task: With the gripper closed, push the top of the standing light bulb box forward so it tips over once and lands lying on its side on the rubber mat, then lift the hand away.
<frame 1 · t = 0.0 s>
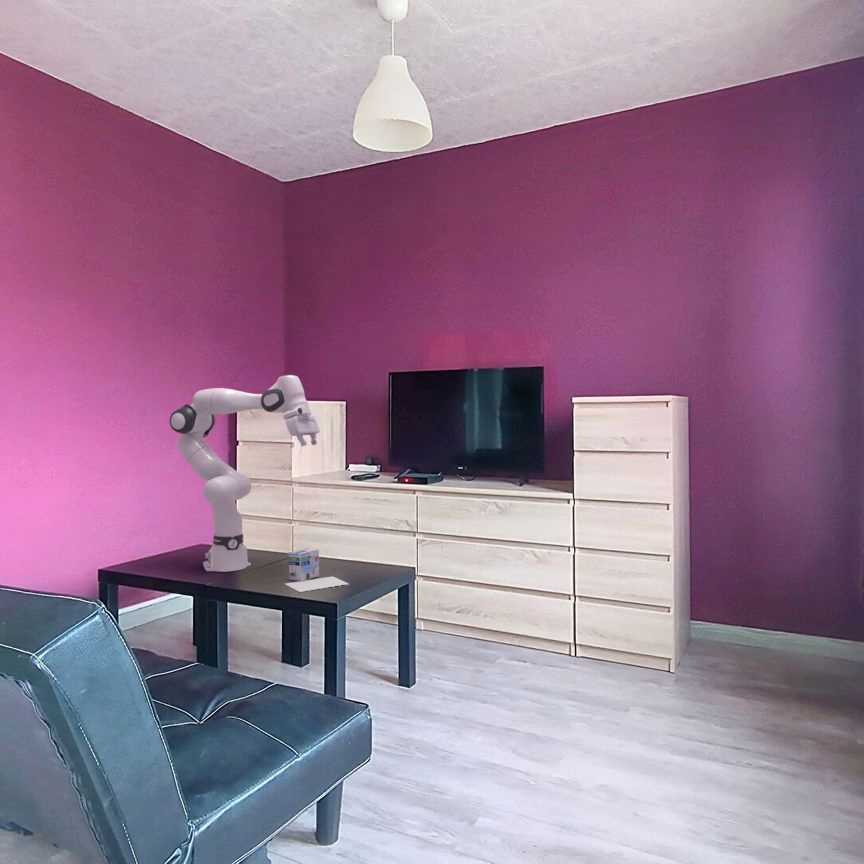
hand: (309, 445, 266), 52 cm above the table, tool tilted 20°, fingers open, 8 cm apart
light bulb box: (304, 578, 260), on the table, touching mat
mat: (316, 584, 250), on the table
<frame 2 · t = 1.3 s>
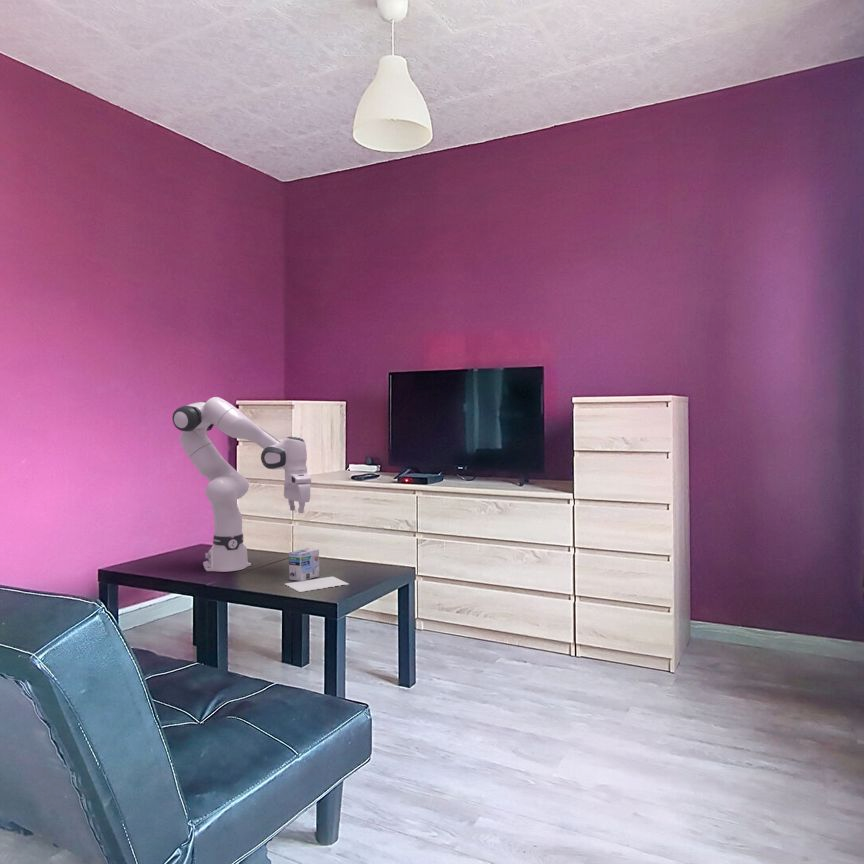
hand: (296, 511, 266), 25 cm above the table, tool pointing down, fingers open, 8 cm apart
nothing on the table moved.
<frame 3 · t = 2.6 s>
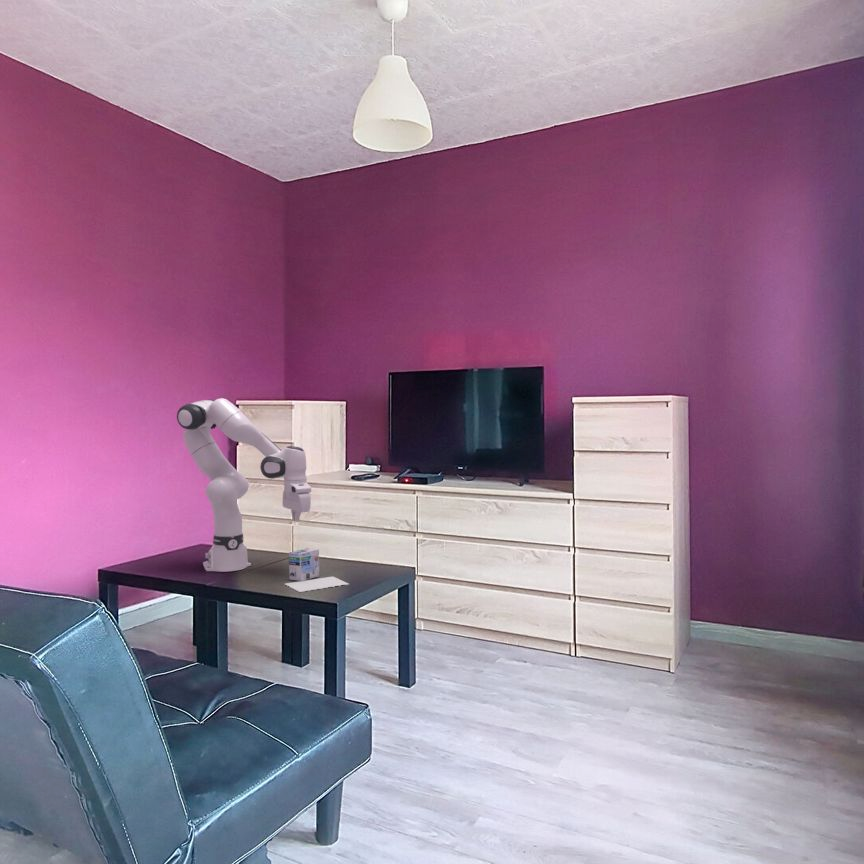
hand: (296, 521, 266), 22 cm above the table, tool pointing down, fingers closed
nothing on the table moved.
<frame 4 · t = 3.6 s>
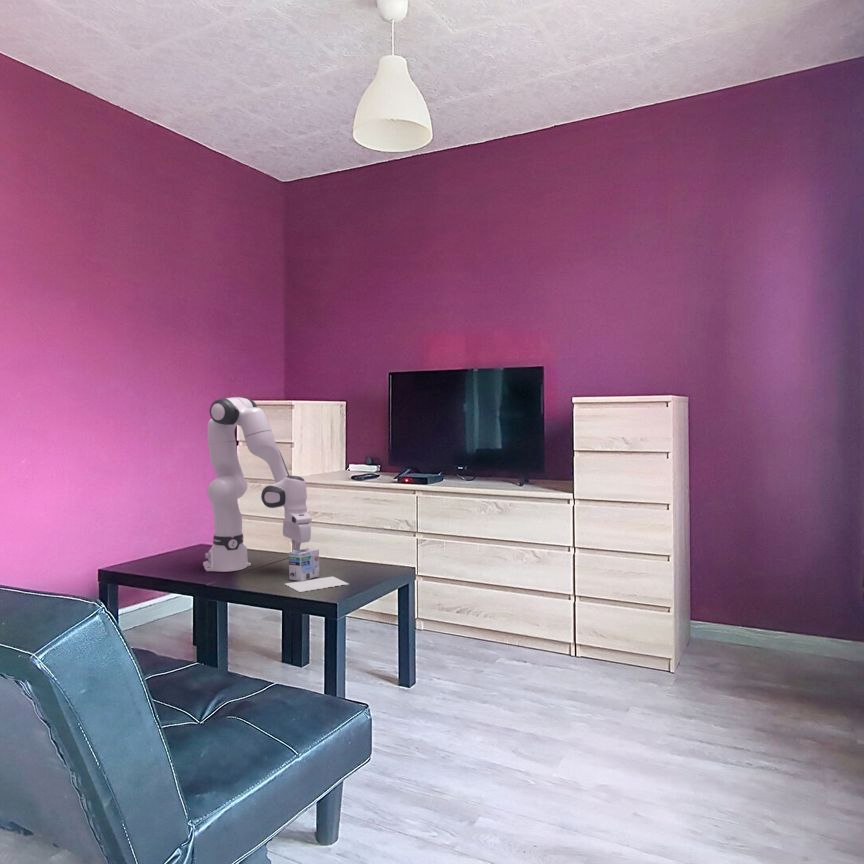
hand: (296, 550, 266), 10 cm above the table, tool pointing down, fingers closed
nothing on the table moved.
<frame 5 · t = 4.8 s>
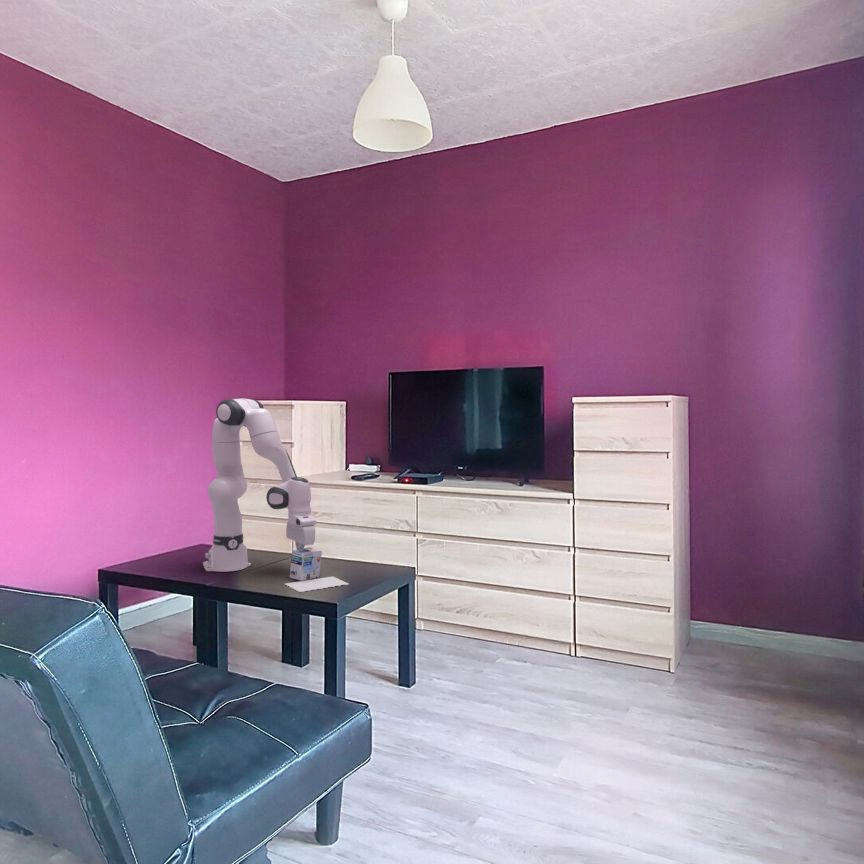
hand: (300, 553, 263), 9 cm above the table, tool pointing down, fingers closed
light bulb box: (304, 577, 260), on the table, touching gripper, mat
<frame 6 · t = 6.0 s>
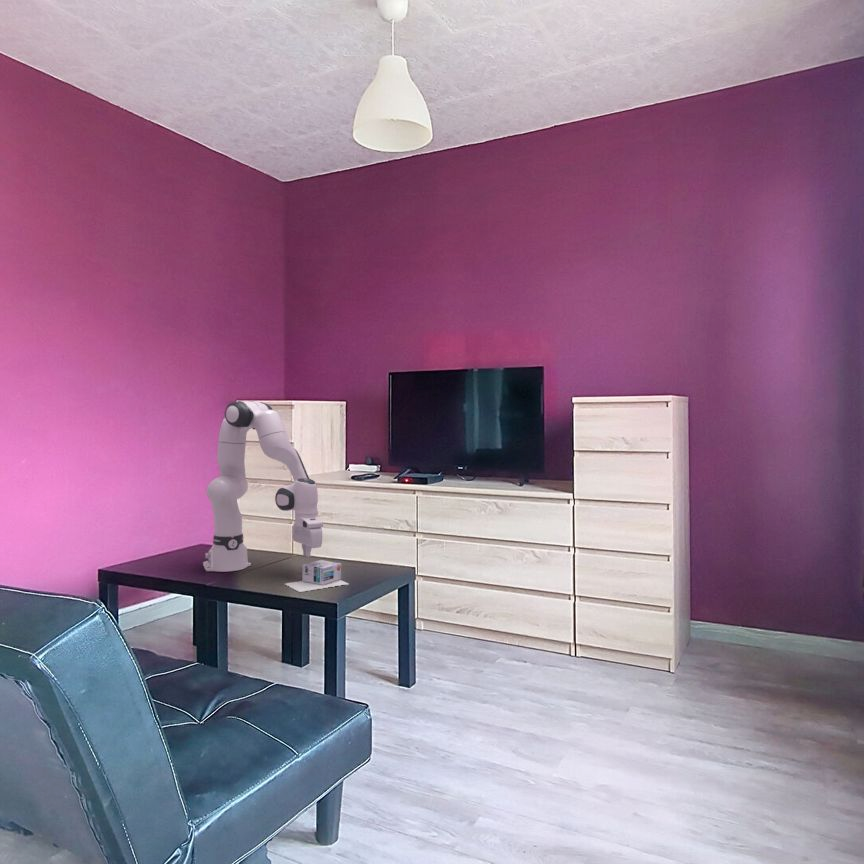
hand: (306, 555, 258), 9 cm above the table, tool pointing down, fingers closed
light bulb box: (310, 570, 258), point 4 cm above the table, touching mat
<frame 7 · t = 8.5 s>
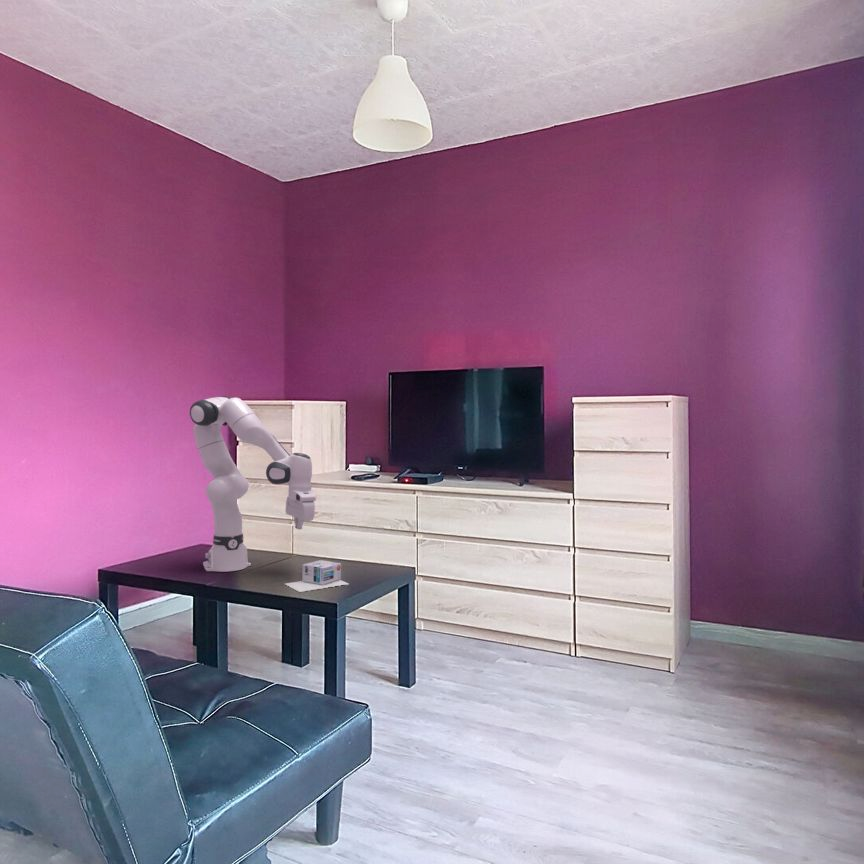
hand: (298, 528, 263), 19 cm above the table, tool pointing down, fingers closed
nothing on the table moved.
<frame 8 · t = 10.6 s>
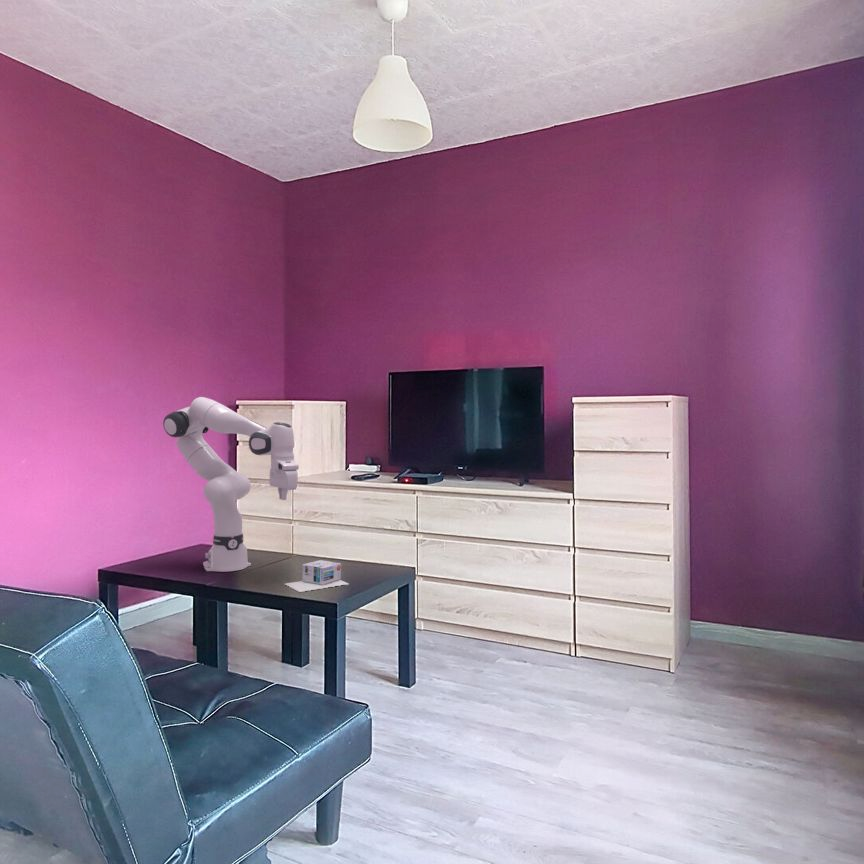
hand: (282, 499, 259), 31 cm above the table, tool pointing down, fingers closed
nothing on the table moved.
at the end: light bulb box tilted 91°; light bulb box inside the target area (6.4 cm from its centre), point 3.8 cm above the table; light bulb box touching mat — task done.
